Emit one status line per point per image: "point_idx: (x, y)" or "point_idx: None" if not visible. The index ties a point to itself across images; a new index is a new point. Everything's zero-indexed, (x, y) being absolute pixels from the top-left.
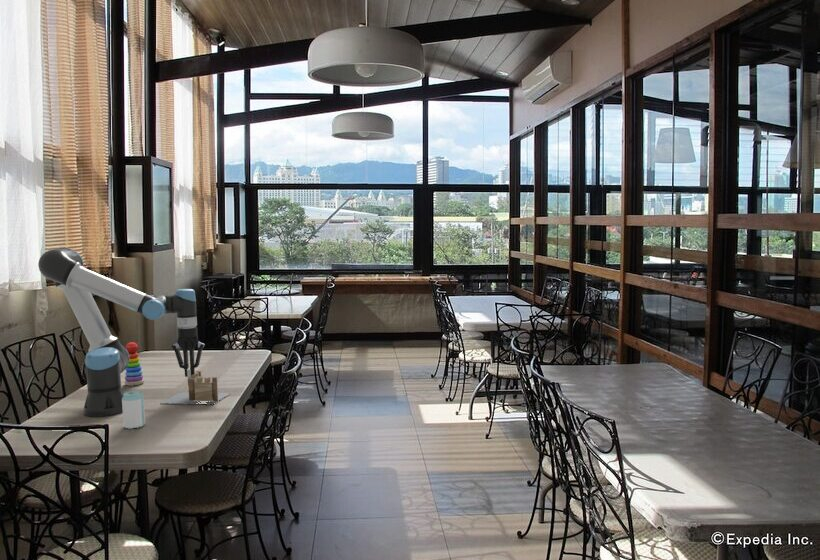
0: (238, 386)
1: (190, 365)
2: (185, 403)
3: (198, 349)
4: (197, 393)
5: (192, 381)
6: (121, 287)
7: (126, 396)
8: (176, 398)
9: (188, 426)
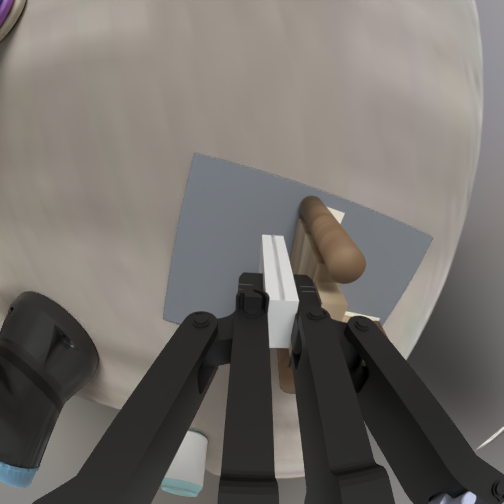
0: (461, 104)
1: (295, 373)
2: None
3: (412, 497)
4: None
5: None
6: None
7: (175, 492)
8: (207, 269)
9: (294, 445)
